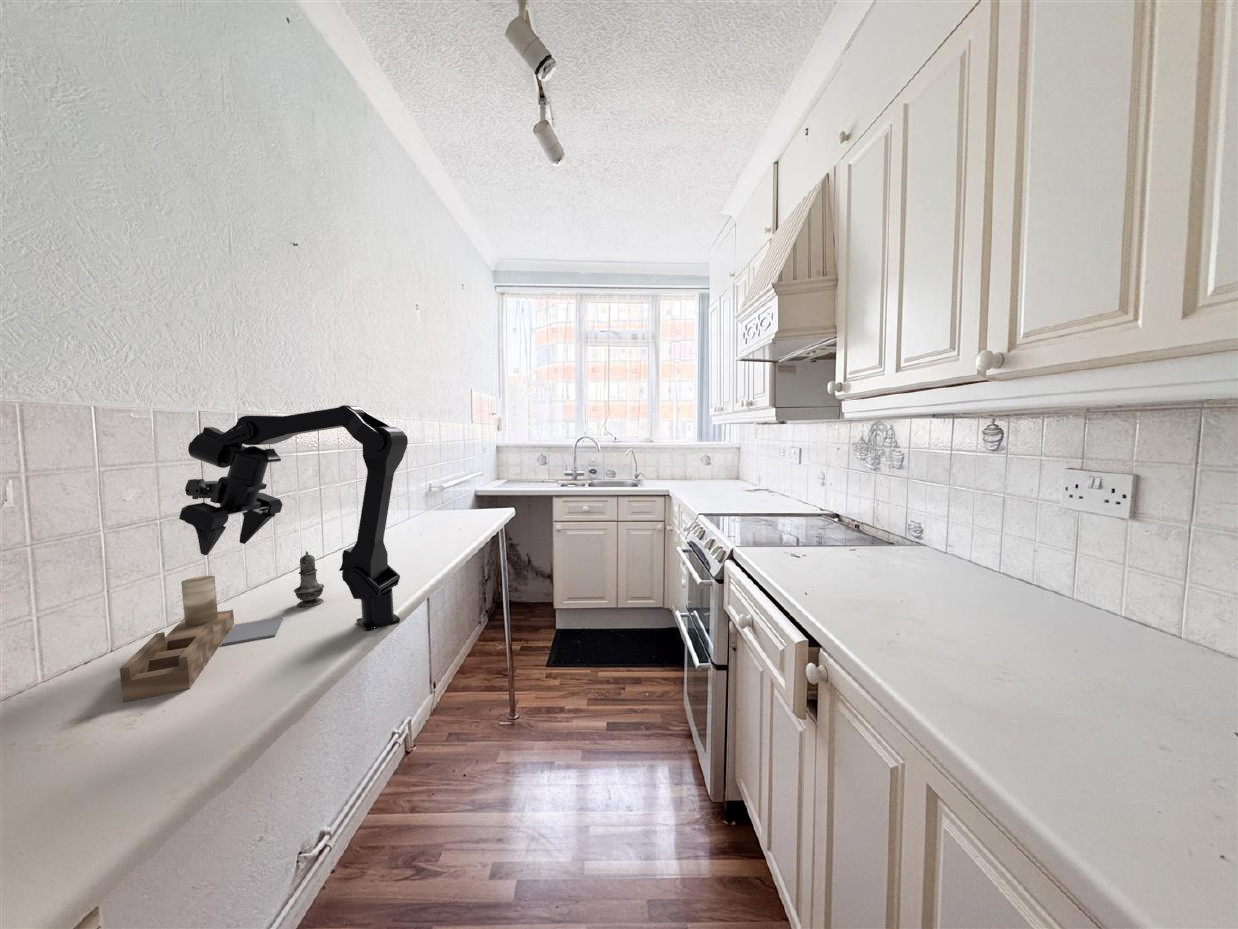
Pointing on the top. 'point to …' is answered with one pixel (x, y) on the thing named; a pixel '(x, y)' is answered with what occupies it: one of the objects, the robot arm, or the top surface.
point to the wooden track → (173, 658)
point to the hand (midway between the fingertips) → (224, 548)
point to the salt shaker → (308, 583)
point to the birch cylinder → (199, 600)
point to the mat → (253, 631)
